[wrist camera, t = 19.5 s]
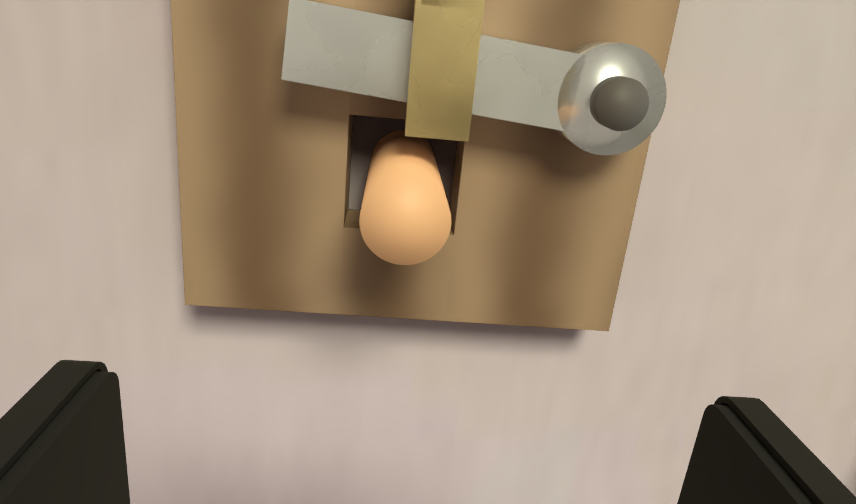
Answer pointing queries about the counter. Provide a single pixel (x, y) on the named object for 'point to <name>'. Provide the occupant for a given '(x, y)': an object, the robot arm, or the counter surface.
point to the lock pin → (404, 201)
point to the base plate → (330, 177)
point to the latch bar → (495, 78)
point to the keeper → (443, 68)
